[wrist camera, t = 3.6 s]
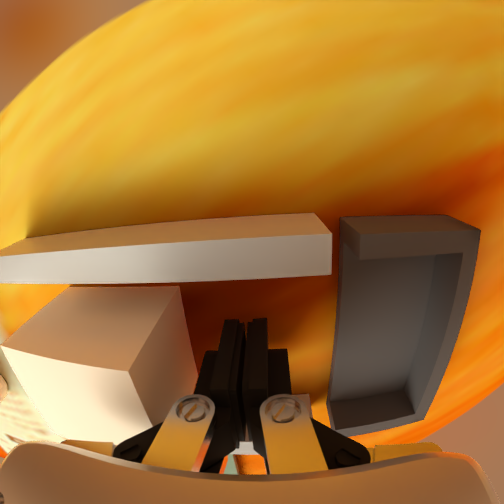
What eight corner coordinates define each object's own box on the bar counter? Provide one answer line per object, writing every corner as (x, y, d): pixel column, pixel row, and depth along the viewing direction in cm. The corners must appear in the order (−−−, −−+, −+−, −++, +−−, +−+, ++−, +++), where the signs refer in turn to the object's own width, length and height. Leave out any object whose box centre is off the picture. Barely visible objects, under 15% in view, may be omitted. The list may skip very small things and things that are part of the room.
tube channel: (314, 212, 10) (332, 233, 8) (307, 407, 14) (313, 451, 11) (24, 238, 11) (-15, 257, 8) (82, 393, 15) (63, 424, 12)
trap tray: (446, 214, 10) (480, 230, 8) (408, 389, 13) (423, 419, 11) (339, 216, 10) (360, 234, 8) (326, 403, 14) (333, 438, 11)
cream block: (179, 285, 12) (128, 371, 7) (198, 374, 13) (173, 465, 8) (70, 285, 12) (0, 345, 7) (98, 365, 14) (54, 433, 8)
